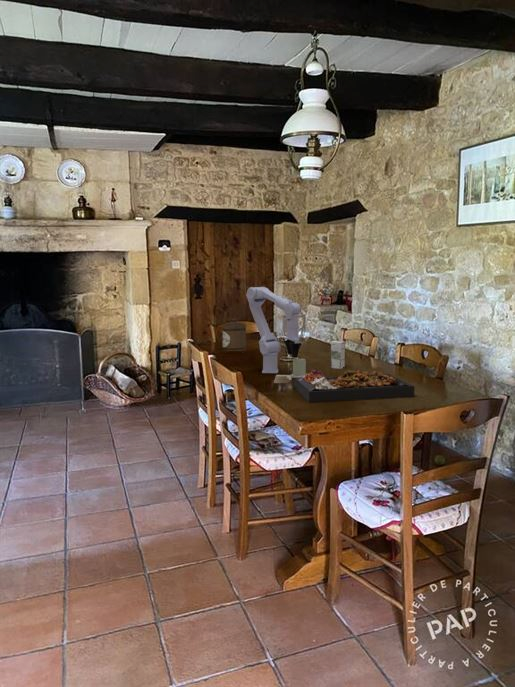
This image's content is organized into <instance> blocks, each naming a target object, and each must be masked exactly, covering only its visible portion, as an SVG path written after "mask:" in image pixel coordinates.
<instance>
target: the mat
mask: <svg viewBox="0 0 515 687" xmlns="http://www.w3.org/2000/svg"><path fill="white" fill-rule="evenodd" d="M290 375H291V379H292V378H293V379H296V378H300V377H305V375H304V376H293V373H291V374H290ZM306 378H307V377H306Z"/></svg>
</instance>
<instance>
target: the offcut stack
mask: <svg viewBox="0 0 515 687" xmlns="http://www.w3.org/2000/svg"><path fill="white" fill-rule="evenodd" d="M275 378H276V380H275V379H273V383H274V384H290V380H289V378H287V376H276V375H275Z"/></svg>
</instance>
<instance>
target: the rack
mask: <svg viewBox="0 0 515 687" xmlns="http://www.w3.org/2000/svg"><path fill="white" fill-rule="evenodd" d="M276 376H287V378H289V381H292V378H291V374H276V375H275V379H274V380H276Z"/></svg>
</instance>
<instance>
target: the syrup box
mask: <svg viewBox="0 0 515 687" xmlns="http://www.w3.org/2000/svg"><path fill="white" fill-rule="evenodd" d="M345 346H346V342H345V340H335V339H334V340H332V341H331V342H330V368H331V369H337V370H338V369H339V370H341V369H344V368H345V353H346V349H345V348H346V347H345ZM343 367H344V368H343Z"/></svg>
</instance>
